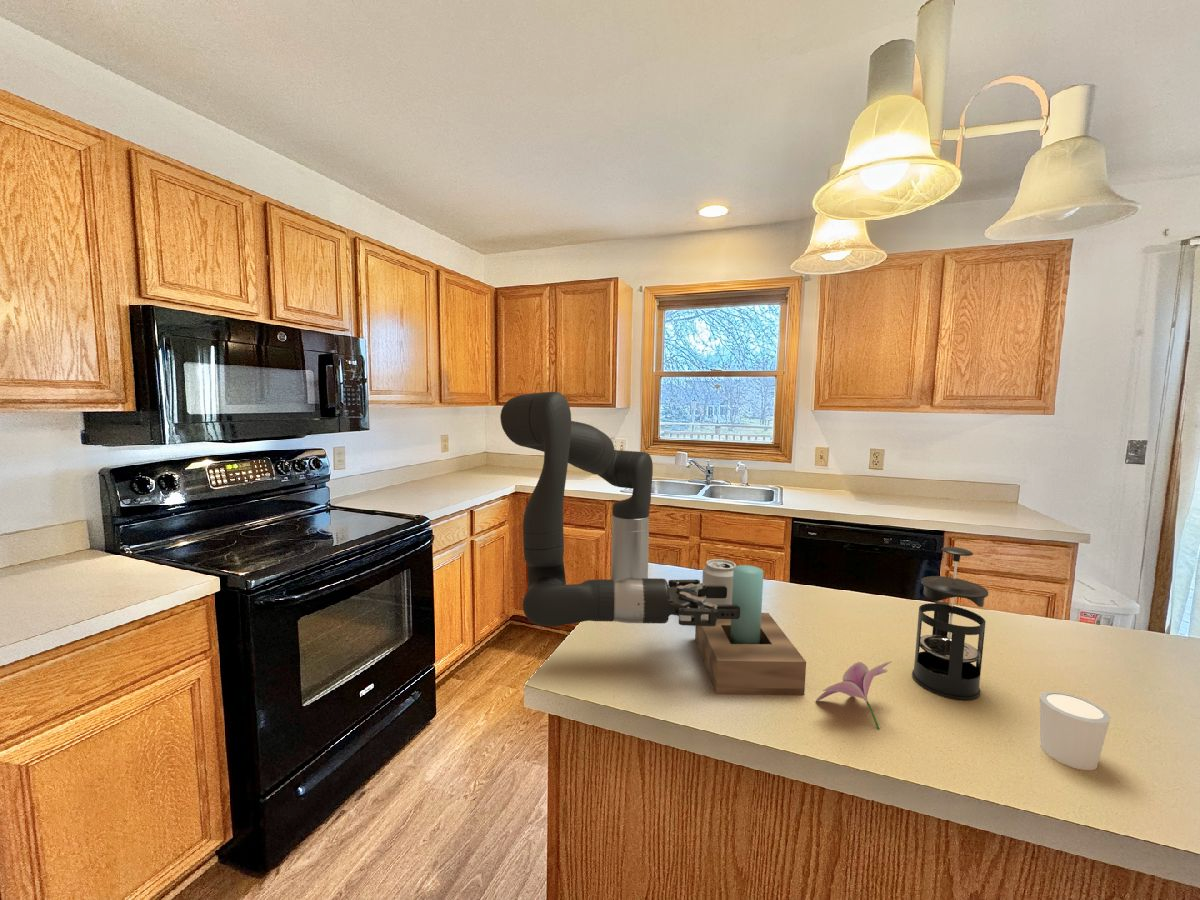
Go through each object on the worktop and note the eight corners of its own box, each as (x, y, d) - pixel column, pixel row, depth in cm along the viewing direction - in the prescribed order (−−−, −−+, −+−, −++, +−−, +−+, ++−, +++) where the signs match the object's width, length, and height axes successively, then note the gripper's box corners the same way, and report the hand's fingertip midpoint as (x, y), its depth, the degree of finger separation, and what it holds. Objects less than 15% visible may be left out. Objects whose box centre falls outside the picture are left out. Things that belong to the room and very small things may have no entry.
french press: (990, 708, 77) (1005, 562, 74) (919, 695, 80) (931, 554, 78) (967, 670, 88) (979, 541, 85) (905, 659, 91) (915, 535, 89)
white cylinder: (1024, 733, 71) (1029, 686, 71) (1083, 743, 70) (1089, 695, 69) (1051, 767, 65) (1057, 716, 64) (1118, 779, 63) (1125, 726, 62)
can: (741, 625, 104) (743, 569, 103) (704, 624, 104) (706, 568, 103) (732, 610, 112) (734, 557, 110) (698, 609, 112) (700, 556, 110)
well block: (695, 639, 98) (695, 611, 97) (767, 639, 98) (768, 612, 97) (716, 693, 80) (717, 660, 79) (804, 694, 80) (806, 661, 79)
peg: (726, 650, 91) (730, 564, 90) (753, 651, 91) (758, 565, 90) (733, 665, 86) (737, 574, 85) (762, 665, 86) (767, 575, 85)
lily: (899, 709, 78) (873, 645, 81) (932, 727, 67) (900, 651, 70) (822, 728, 79) (799, 663, 83) (842, 747, 68) (815, 672, 72)
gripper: (644, 596, 80) (745, 596, 80) (637, 565, 94) (723, 566, 95) (643, 640, 81) (743, 641, 81) (636, 604, 95) (721, 605, 95)
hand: (732, 601), depth 88 cm, fingers open, 8 cm apart
